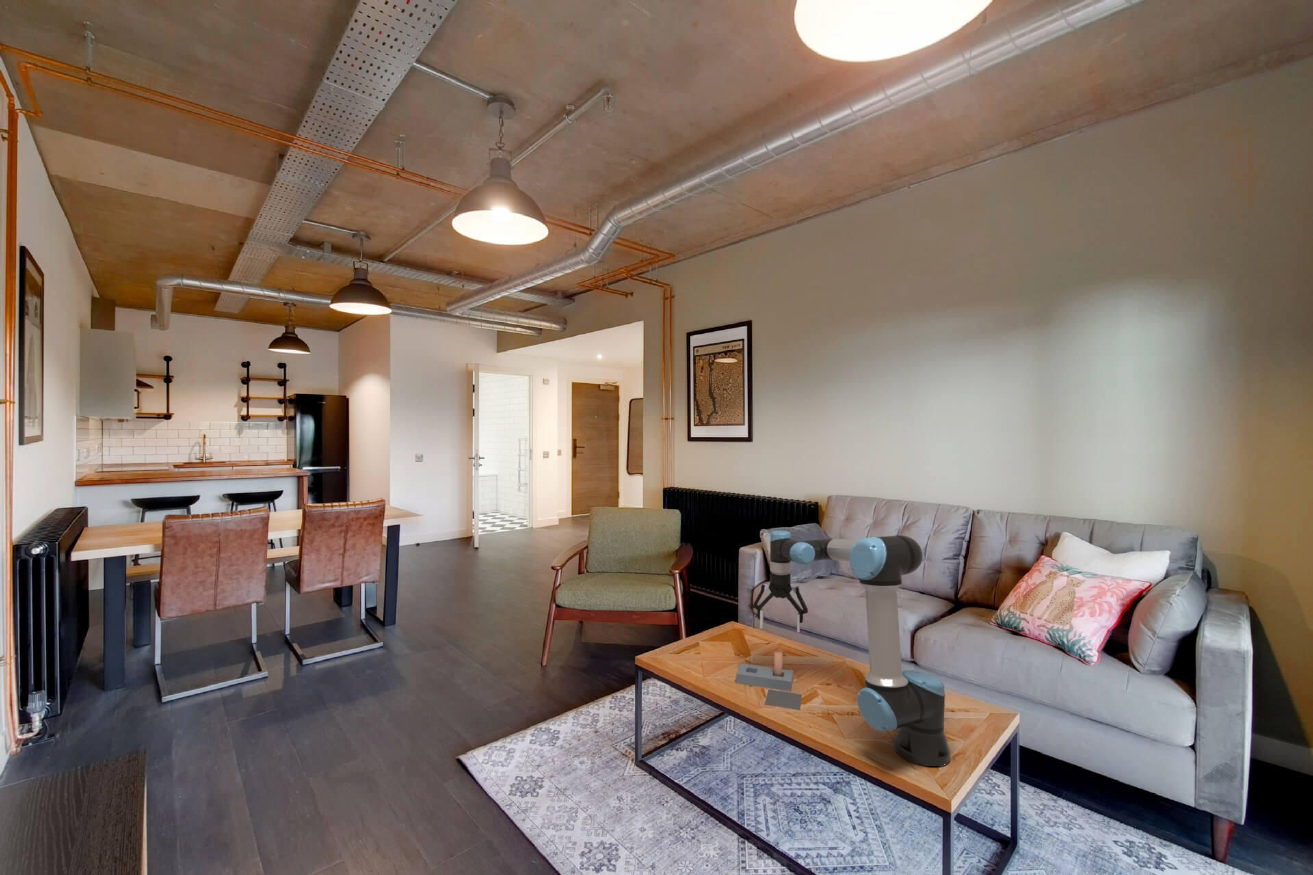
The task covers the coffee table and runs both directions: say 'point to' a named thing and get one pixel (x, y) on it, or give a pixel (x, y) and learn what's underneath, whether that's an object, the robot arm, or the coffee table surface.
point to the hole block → (764, 677)
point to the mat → (783, 699)
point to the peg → (778, 663)
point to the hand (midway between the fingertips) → (779, 629)
